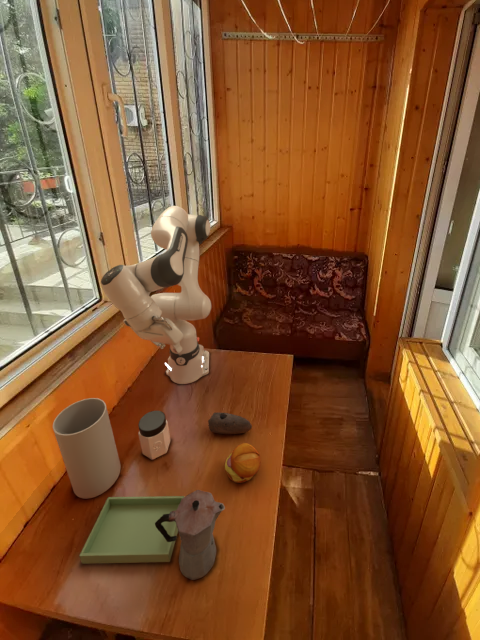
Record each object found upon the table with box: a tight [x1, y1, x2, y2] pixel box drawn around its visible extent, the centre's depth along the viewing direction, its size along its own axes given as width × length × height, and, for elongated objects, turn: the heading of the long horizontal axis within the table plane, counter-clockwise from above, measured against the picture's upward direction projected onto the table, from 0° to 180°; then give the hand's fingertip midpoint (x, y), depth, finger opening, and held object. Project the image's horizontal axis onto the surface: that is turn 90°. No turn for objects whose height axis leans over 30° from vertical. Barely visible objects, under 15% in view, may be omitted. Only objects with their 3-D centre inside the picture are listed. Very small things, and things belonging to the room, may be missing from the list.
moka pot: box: [155, 489, 226, 581], centre depth 73 cm, size 10×15×20 cm, turn 106°
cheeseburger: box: [224, 442, 261, 484], centre depth 96 cm, size 10×11×10 cm
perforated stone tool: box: [207, 412, 253, 435], centre depth 109 cm, size 15×5×7 cm, turn 85°
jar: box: [137, 410, 172, 461], centre depth 102 cm, size 9×8×12 cm
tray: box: [78, 495, 185, 565], centre depth 81 cm, size 13×21×3 cm, turn 91°
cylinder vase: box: [52, 397, 122, 500], centre depth 90 cm, size 12×12×25 cm
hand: (170, 349), depth 96 cm, fingers open, 8 cm apart
